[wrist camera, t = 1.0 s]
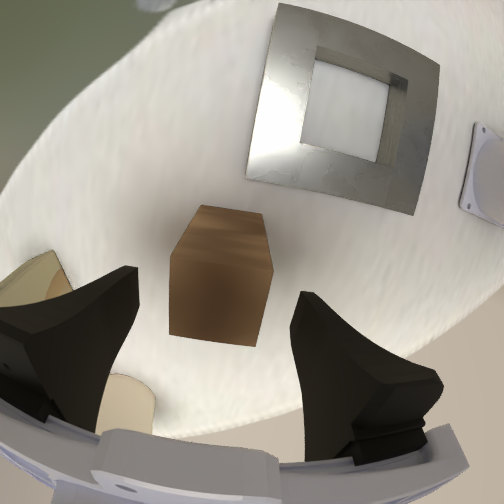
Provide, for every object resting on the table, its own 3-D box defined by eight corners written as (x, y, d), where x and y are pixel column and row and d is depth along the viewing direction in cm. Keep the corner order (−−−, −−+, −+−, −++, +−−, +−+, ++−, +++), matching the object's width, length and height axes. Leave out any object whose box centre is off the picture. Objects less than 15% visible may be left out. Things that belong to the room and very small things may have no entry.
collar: (420, 69, 13) (439, 64, 11) (395, 205, 18) (413, 215, 15) (274, 18, 12) (278, 2, 10) (245, 172, 17) (245, 178, 14)
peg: (261, 214, 18) (273, 271, 10) (251, 268, 19) (255, 346, 12) (201, 204, 17) (170, 256, 10) (195, 259, 19) (169, 334, 12)
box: (43, 299, 20) (-18, 373, 10) (24, 261, 19) (-49, 327, 9) (76, 291, 20) (8, 379, 10) (55, 247, 18) (-31, 323, 8)
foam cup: (122, 414, 28) (99, 495, 16) (78, 367, 24) (35, 456, 12) (183, 411, 27) (168, 509, 15) (139, 359, 23) (100, 477, 11)
